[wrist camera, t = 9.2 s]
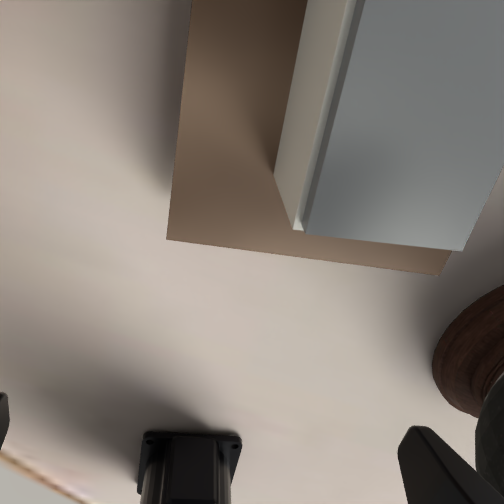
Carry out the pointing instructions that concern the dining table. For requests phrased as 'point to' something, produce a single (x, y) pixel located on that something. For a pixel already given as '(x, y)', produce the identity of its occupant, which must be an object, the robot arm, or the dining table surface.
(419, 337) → the dining table surface
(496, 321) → the black orb on base
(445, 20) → the block
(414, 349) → the dining table surface
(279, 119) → the stand
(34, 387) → the dining table surface
